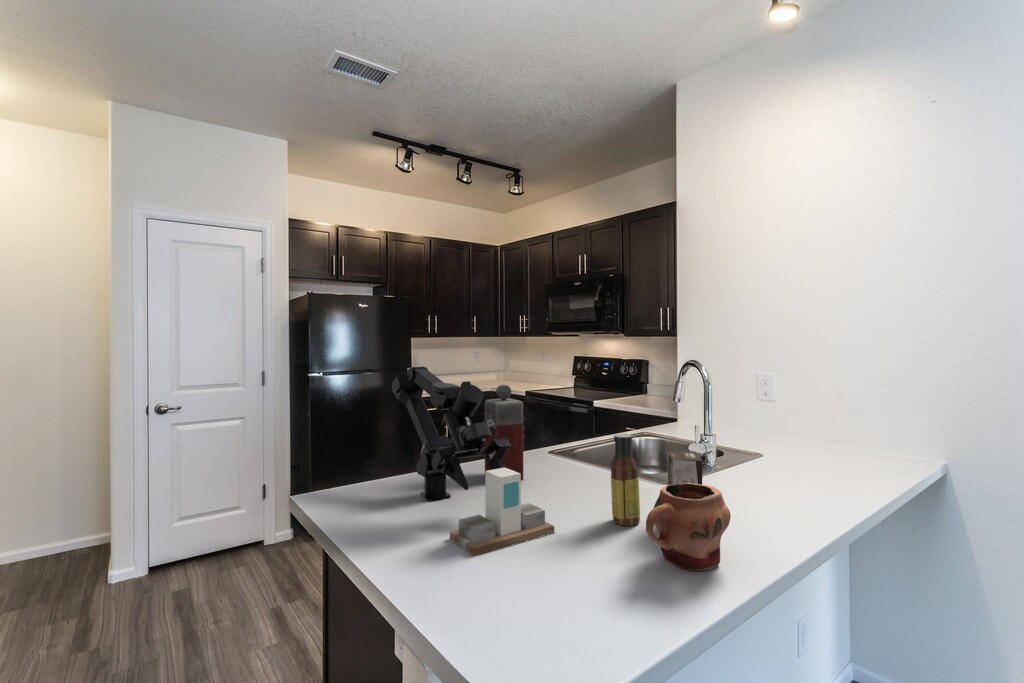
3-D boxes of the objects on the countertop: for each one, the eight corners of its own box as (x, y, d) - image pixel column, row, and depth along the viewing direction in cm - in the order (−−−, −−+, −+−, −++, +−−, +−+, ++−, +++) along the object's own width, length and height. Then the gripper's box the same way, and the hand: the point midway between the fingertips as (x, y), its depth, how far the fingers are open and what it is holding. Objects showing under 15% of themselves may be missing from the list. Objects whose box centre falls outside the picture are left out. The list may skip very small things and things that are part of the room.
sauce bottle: (641, 519, 115) (641, 433, 115) (638, 528, 109) (638, 438, 109) (612, 515, 117) (612, 431, 117) (608, 525, 111) (608, 436, 111)
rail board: (449, 538, 104) (449, 517, 104) (526, 518, 115) (526, 499, 115) (474, 556, 96) (473, 533, 96) (554, 532, 107) (554, 512, 107)
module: (485, 526, 106) (485, 471, 106) (504, 521, 109) (504, 467, 109) (501, 536, 101) (501, 477, 101) (521, 530, 104) (521, 473, 104)
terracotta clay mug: (681, 593, 82) (681, 509, 82) (624, 565, 92) (624, 490, 92) (746, 561, 93) (746, 487, 93) (690, 539, 103) (690, 473, 103)
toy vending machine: (507, 470, 157) (507, 382, 156) (523, 480, 147) (523, 385, 146) (481, 474, 153) (481, 383, 153) (496, 484, 143) (496, 386, 142)
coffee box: (703, 537, 105) (703, 460, 105) (671, 534, 106) (671, 459, 106) (696, 521, 114) (696, 451, 114) (666, 519, 115) (666, 449, 115)
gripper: (436, 411, 110) (460, 472, 101) (506, 405, 121) (533, 459, 112) (421, 440, 117) (443, 500, 108) (489, 432, 127) (513, 485, 118)
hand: (485, 485), depth 111 cm, fingers open, 9 cm apart
